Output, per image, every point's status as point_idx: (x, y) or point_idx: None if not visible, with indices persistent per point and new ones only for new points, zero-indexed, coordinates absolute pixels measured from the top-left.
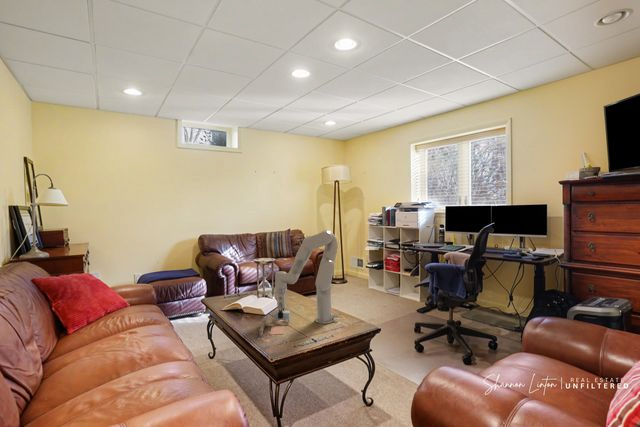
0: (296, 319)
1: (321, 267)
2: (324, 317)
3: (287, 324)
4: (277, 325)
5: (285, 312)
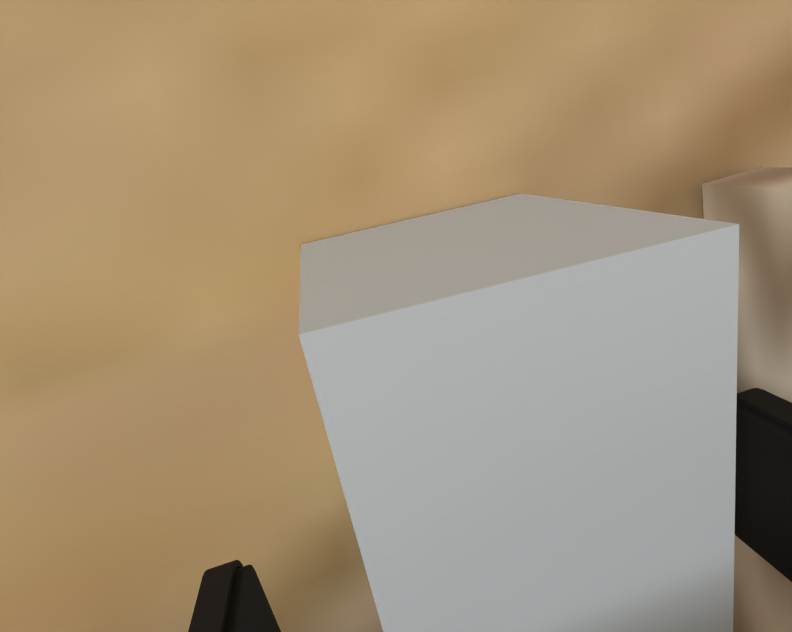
0: (265, 14)
1: None
2: None
3: (775, 174)
4: None
5: (638, 450)
